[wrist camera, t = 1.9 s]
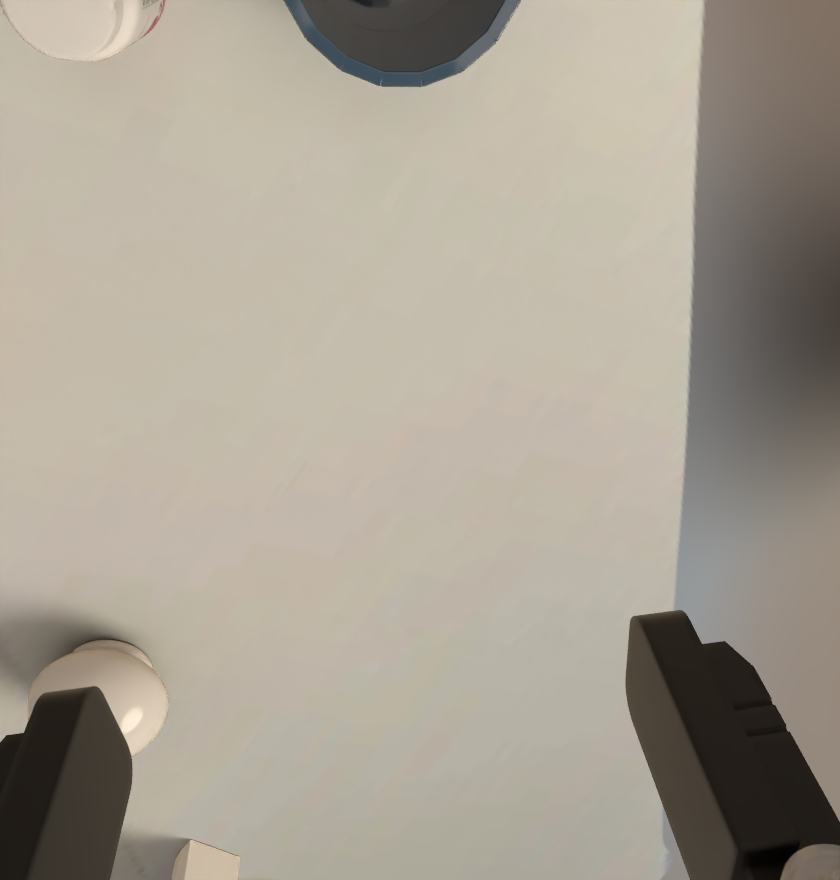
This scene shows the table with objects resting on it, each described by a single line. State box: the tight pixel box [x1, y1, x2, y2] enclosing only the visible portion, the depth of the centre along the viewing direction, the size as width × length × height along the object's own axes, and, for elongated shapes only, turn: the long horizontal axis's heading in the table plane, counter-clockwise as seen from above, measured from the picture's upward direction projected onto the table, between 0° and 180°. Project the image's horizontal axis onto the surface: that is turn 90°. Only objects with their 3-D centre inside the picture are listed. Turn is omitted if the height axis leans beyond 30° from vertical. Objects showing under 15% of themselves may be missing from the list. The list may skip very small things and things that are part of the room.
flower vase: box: [28, 640, 169, 757], centre depth 48 cm, size 13×18×25 cm
